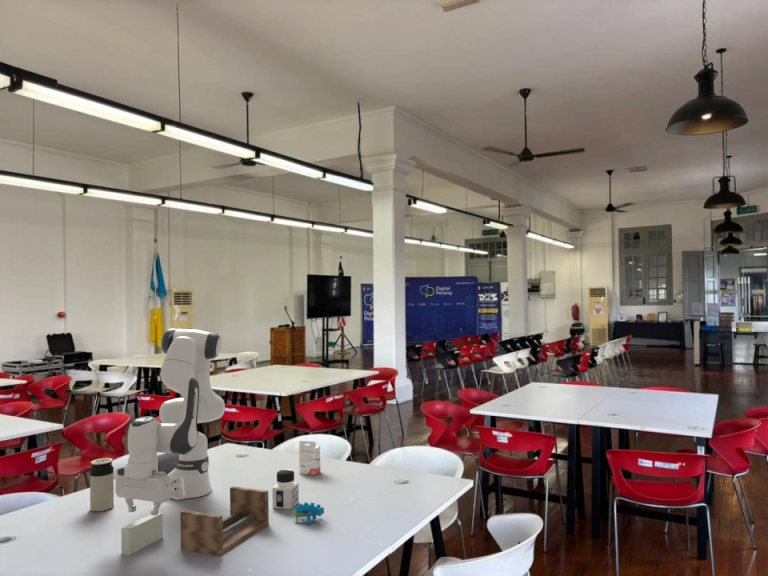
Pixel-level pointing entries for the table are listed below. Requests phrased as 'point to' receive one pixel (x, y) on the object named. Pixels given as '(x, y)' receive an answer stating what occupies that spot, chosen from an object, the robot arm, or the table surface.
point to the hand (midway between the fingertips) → (143, 513)
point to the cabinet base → (225, 523)
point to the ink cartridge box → (309, 458)
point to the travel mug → (101, 485)
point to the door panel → (141, 533)
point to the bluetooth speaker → (167, 462)
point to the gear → (307, 511)
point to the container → (285, 490)
